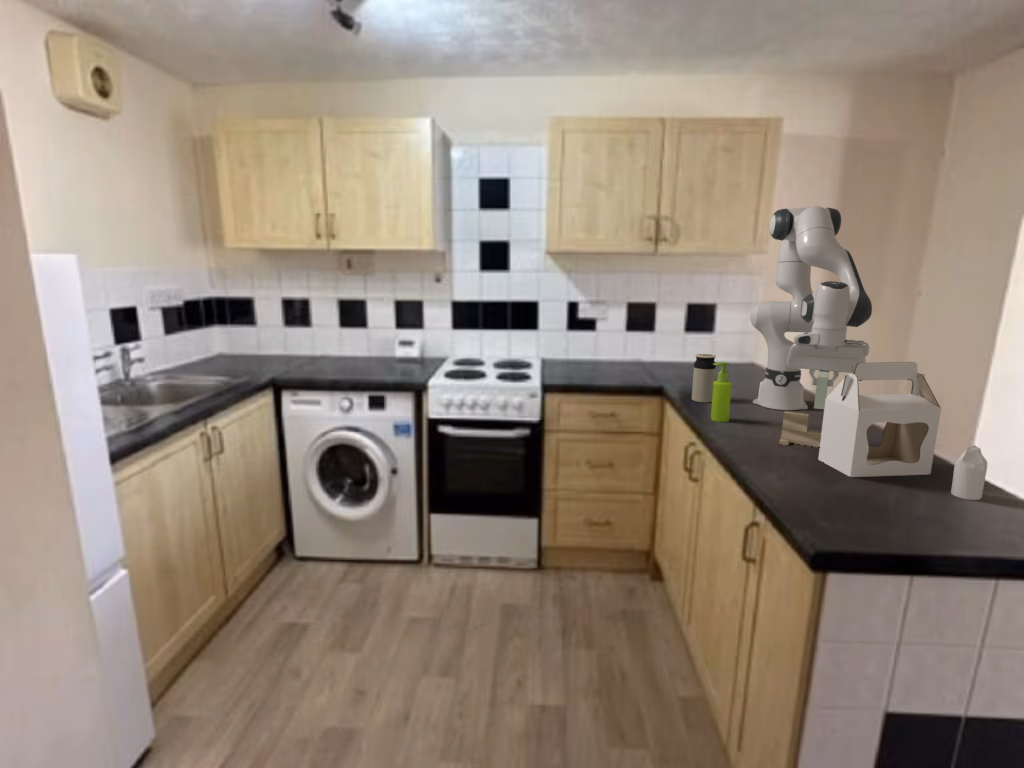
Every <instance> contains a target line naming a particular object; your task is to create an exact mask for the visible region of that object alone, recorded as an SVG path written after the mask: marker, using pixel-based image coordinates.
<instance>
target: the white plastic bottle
mask: <svg viewBox="0 0 1024 768" xmlns="http://www.w3.org/2000/svg"><path fill="white" fill-rule="evenodd" d="M987 469H988V461H987V459H986V458H985V456H984V455H983V454H982V449H981V448H980V447H979V446H976V445H975V444H972V445H969V446H967V448H966V449H965V450H964V451H963V452H962V454H961V455H960V456H959V457H958V460H957V461H956V462H955V464H954V469H953V474H952V475H953V477H952V484H951V488H950V489H951V490H950V494H951V495H952V496H954V497H957V498H960V499H962V500H967V501H968V500H970V501H980V500H981V499H982V498H983V493H984V492H983V491H984V487H985V480H986V477H987V476H986V475H987V472H988V471H987Z"/></svg>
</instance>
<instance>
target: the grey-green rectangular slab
mask: <svg viewBox="0 0 1024 768" xmlns="http://www.w3.org/2000/svg"><path fill="white" fill-rule="evenodd" d="M829 376H830V371H823V370H818V374H817V385H815V386H816V387H815V393H814V395H815V396H814V401H813V402H814V403H813V409H816V410H817V409H819V410H824V408H825V399H826V397H827V392H828V386H827V384H828V380H829V378H830V377H829Z"/></svg>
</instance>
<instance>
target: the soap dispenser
mask: <svg viewBox="0 0 1024 768" xmlns="http://www.w3.org/2000/svg"><path fill="white" fill-rule="evenodd" d="M713 365H715V366H716V367H719V366H721V367H720V371H718V372H717V380H715V381H714V382H713V395H712V402H711V411H710V420H711V421H712V422H716V423H717V422H718V423H727V422H730V421H729V420H730V411H731V399H732V398H731V397H732V387H733V383H732V382H730V381H729V375H730V373H729V372H728V371H727V369H728V368H727V367H728V366H730V362H724V361H717V362H715V363H714V364H713Z"/></svg>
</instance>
